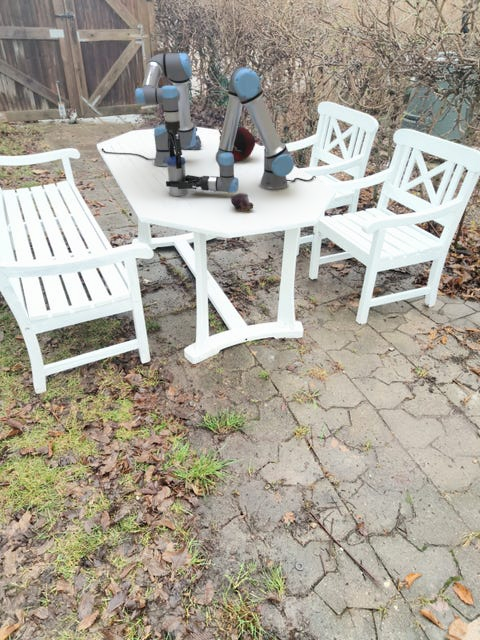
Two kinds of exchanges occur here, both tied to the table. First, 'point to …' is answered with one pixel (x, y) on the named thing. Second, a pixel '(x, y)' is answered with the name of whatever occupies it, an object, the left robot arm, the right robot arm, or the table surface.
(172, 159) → the lid
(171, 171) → the jar
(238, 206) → the rock
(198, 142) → the koala plush
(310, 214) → the table surface
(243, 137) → the dark red rounded piece
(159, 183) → the table surface
